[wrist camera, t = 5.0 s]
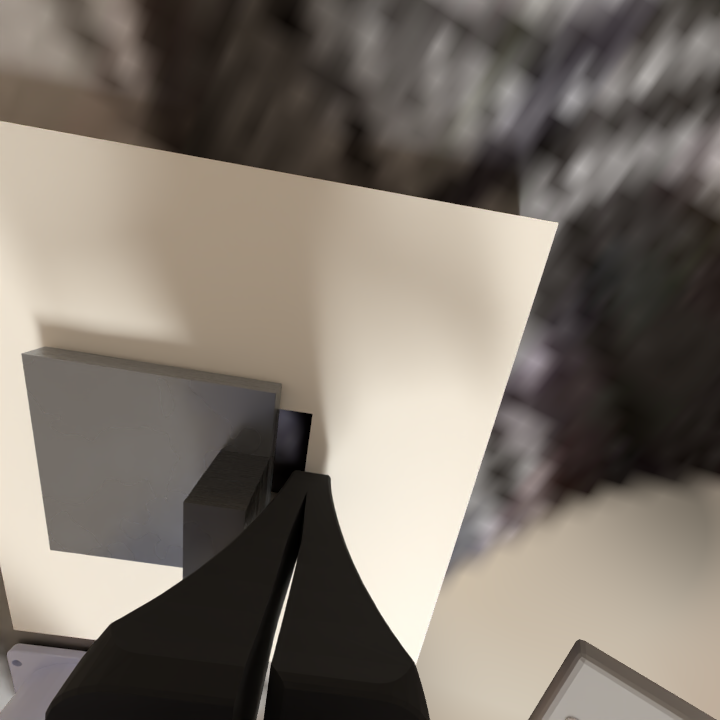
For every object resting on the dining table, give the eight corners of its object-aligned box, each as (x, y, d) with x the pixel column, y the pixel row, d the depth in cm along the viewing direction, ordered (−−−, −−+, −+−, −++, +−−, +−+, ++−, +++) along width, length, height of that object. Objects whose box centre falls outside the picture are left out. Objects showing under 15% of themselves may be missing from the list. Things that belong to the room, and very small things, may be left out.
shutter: (263, 559, 13) (234, 649, 10) (68, 532, 13) (-21, 617, 10) (282, 383, 11) (251, 433, 8) (45, 346, 11) (-80, 383, 8)
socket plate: (405, 623, 18) (411, 679, 16) (61, 577, 17) (13, 629, 15) (520, 228, 12) (558, 223, 10) (0, 134, 11) (-97, 103, 9)
